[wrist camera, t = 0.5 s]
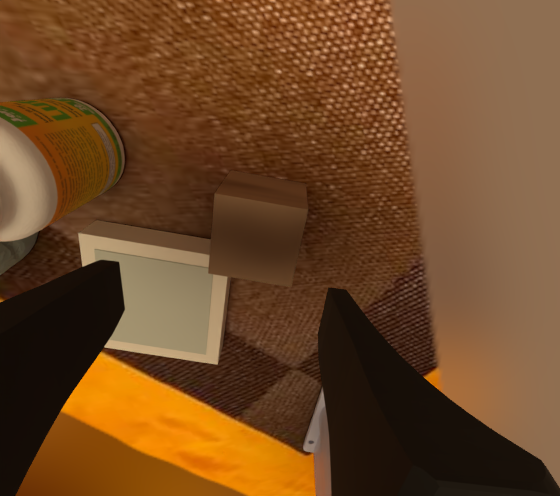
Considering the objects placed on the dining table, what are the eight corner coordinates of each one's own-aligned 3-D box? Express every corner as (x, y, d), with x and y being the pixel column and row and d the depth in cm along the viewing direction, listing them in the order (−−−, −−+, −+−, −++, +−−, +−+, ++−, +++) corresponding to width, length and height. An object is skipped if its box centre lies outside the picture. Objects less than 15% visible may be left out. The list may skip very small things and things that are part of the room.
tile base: (222, 344, 26) (217, 365, 24) (107, 326, 25) (92, 346, 23) (234, 243, 22) (229, 259, 20) (96, 220, 21) (77, 233, 19)
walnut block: (291, 248, 22) (291, 287, 18) (224, 237, 22) (208, 273, 18) (305, 183, 20) (308, 209, 16) (231, 169, 19) (214, 193, 15)
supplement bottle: (112, 93, 18) (-62, 108, 9) (138, 190, 20) (20, 274, 12) (17, 100, 18) (-236, 120, 9) (54, 194, 21) (-120, 279, 12)
